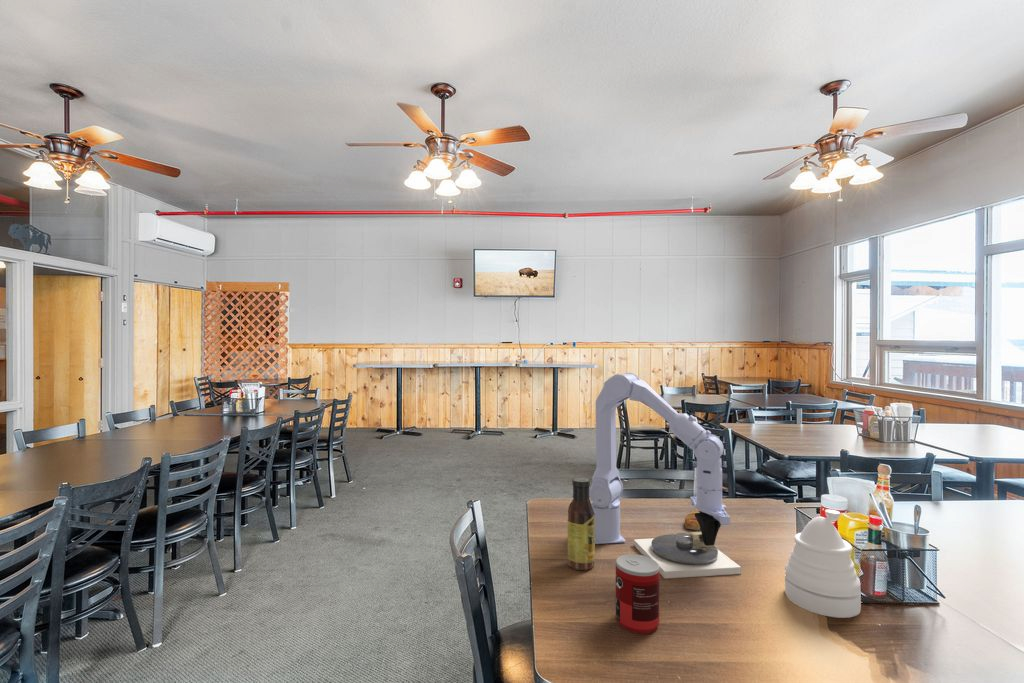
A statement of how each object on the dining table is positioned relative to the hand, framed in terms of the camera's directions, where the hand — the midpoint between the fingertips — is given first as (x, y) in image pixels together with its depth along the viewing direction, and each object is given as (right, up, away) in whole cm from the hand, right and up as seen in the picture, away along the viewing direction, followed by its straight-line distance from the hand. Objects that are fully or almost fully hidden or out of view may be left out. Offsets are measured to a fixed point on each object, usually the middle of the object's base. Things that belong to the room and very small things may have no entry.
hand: (709, 544), depth 117 cm
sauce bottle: (-31, -4, -3) cm, 31 cm away
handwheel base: (-6, -4, +1) cm, 7 cm away
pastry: (+6, -4, +23) cm, 24 cm away
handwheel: (-6, -2, +1) cm, 6 cm away
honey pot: (+16, -4, -18) cm, 24 cm away
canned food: (-24, -4, -26) cm, 35 cm away
